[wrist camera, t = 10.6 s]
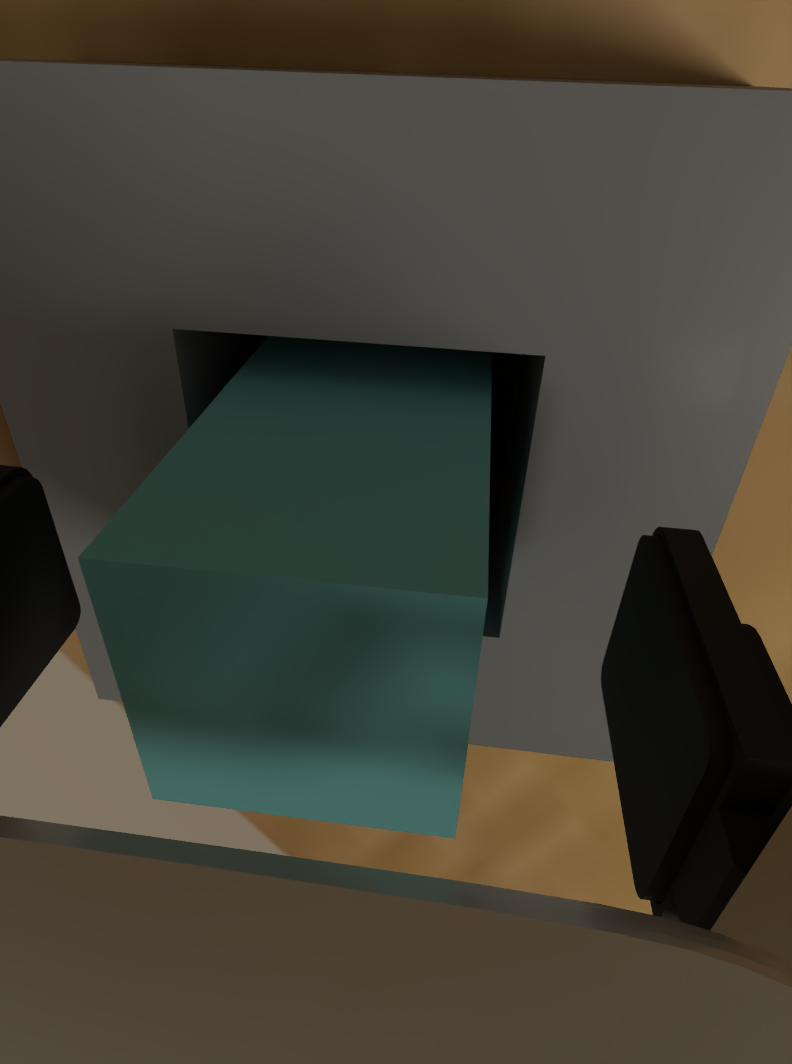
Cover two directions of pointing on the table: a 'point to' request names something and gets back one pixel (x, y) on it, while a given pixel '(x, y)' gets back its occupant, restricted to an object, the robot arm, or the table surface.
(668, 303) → the socket
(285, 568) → the peg
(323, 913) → the robot arm
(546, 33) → the table surface
